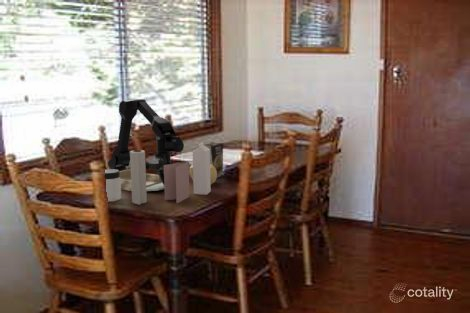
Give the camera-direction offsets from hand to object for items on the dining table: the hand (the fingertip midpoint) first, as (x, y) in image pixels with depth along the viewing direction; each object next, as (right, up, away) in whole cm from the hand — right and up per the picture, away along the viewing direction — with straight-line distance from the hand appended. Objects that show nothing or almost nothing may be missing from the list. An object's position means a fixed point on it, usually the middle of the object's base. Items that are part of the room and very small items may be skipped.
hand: (165, 185), depth 261 cm
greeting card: (+8, -6, -17) cm, 19 cm away
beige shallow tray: (-14, -1, +8) cm, 16 cm away
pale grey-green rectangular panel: (-7, -1, +4) cm, 8 cm away
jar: (-21, -5, -14) cm, 26 cm away
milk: (+17, -3, -4) cm, 18 cm away
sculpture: (+17, 0, +12) cm, 20 cm away
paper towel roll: (-8, -6, -20) cm, 22 cm away
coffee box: (+20, +3, +28) cm, 34 cm away
